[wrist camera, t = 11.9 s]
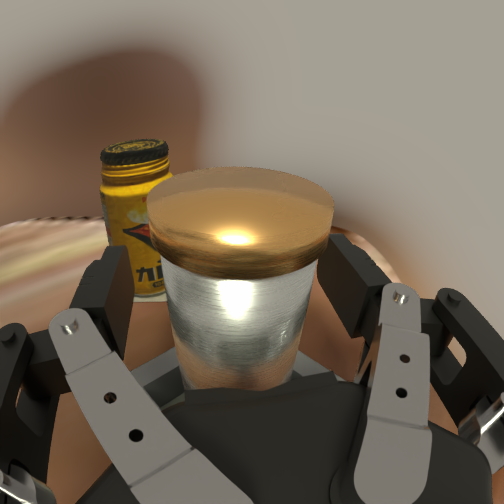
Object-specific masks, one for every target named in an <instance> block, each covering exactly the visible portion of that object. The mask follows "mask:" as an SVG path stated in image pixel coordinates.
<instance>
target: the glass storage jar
mask: <svg viewBox="0 0 504 504" xmlns="http://www.w3.org/2000/svg"><path fill="white" fill-rule="evenodd" d="M147 210H148V220H149V228H150V236H151V241H152V244H153V246H154V248H155V249H156V251H157V252H158V253H159V254H160V255H161V263H162V270H163V277H164V284H165V291H166V297H167V303H168V309H169V315H170V321H171V327H172V332H173V337H174V343H175V348H176V353H177V358H178V363H179V367H180V372H181V377H182V381H183V385H184V390H193V389H208V388H220V387H225V388H234V389H244V390H256V391H265V390H268V389H271V388H273V387H276V386H279V385H281V384H284V383H286V382H289V381H290V379H291V375H292V371H293V367H294V363H295V359H296V355H297V351H298V347H299V343H300V338H301V334H302V330H303V325H304V321H305V316H306V312H307V307H308V302H309V297H310V293H311V288H312V283H313V278H314V273H315V267H316V262H317V259H318V258H319V257H320V256H321V255H322V254H323V253H324V251H325V249H326V247H327V244H328V239H329V233H330V228H331V223H332V217H333V211H334V201H333V199H332V197H331V196H330V194H329V193H328V192H327V191H326V190H324V189H323V188H322V187H320V186H319V185H317V184H315V183H313V182H311V181H309V180H307V179H304V178H302V177H299V176H296V175H292V174H289V173H285V172H281V171H275V170H270V169H263V168H252V167H215V168H206V169H199V170H194V171H189V172H185V173H182V174H178V175H175V176H172V177H170V178H168V179H166V180H164V181H162V182H160V183H159V184H157V185H156V186H154V187H153V188H152V189H151V190H150V192H149V193H148V196H147Z"/></svg>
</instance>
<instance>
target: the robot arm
mask: <svg viewBox="0 0 504 504" xmlns="http://www.w3.org/2000/svg"><path fill="white" fill-rule="evenodd" d="M317 278H318V282H319V284H320V285H321V287H322V289H323V290H324V292H325V294H326V295H327V297H328V299H329V301H330V302H331V304H332V306H333V308H334V309H335V311H336V313H337V314H338V316H339V318H340V320H341V321H342V323H343V325H344V327H345V328H346V330H347V332H348V334H349V336H350V337H351V338H356V337H361V336H363V337H364V339H365V340H364V342H363V345H362V348H361V353H360V357H359V361H358V366H357V370H356V374H355V378H354V382H348V381H337V379H336V376H335V374H334V372H333V371H329V372H324V373H319V374H313V375H308V376H302V377H298V378H296V379H293V380H291V381H289V382H286V383H284V384H281V385H279V386H276V387H273V388H271V389H268V390H265V391H256V390H244V389H234V388H225V387H220V388H208V389H193V390H184V393H185V401H183V402H179V403H176V404H174V405H171V406H169V407H167V408H166V409H164V410H162V411H160V410H159V409H158V408H157V406H156V405H155V404H154V403H153V402H152V400H151V399H150V398H149V397H148V395H147V394H146V393H145V391H144V390H143V389H142V388H141V386H140V385H139V384H138V382H137V381H136V380H135V378H134V377H133V376H132V374H131V373H130V371H129V370H128V369H127V367H126V366H125V364H124V363H123V362H122V361H123V360H124V353H125V346H126V340H127V334H128V328H129V322H130V317H131V311H132V306H133V301H134V295H135V284H134V278H133V273H132V268H131V263H130V258H129V253H128V249H127V246H126V245H119V246H107V247H106V249H105V251H104V253H103V256H102V258H101V260H95V261H93V262H92V263H91V264H90V265H89V266H88V267H87V268H86V270H85V272H84V274H83V277H82V279H81V281H80V283H79V286H78V288H77V290H76V293H75V295H74V297H73V300H72V302H71V304H70V307H69V309H66V310H64V311H62V312H60V313H58V314H57V315H56V316H55V317H54V318H53V319H52V320H51V322H50V324H49V329H47V330H43V331H39V332H35V333H32V334H28V332H27V330H26V328H25V327H24V326H23V325H22V324H20V323H11V324H8V325H6V326H4V327H2V328H1V329H0V504H57V503H56V498H55V496H54V494H53V492H52V490H51V489H50V488H49V487H48V486H47V485H46V481H47V470H48V462H49V454H50V447H51V440H52V434H53V428H54V422H55V417H56V411H57V407H58V402H59V397H60V394H64V393H68V392H73V394H74V396H75V398H76V400H77V402H78V404H79V406H80V408H81V410H82V412H83V414H84V416H85V418H86V419H87V421H88V423H89V425H90V427H91V428H92V430H93V432H94V434H95V435H96V437H97V439H98V440H99V442H100V444H101V445H102V447H103V448H104V450H105V452H106V453H107V455H108V456H109V458H110V459H111V461H112V463H111V465H110V466H109V467H108V468H107V469H106V470H105V471H104V472H103V474H102V475H101V476H100V477H99V478H98V479H97V480H96V481H95V482H94V484H93V485H92V486H91V487H90V488H89V489H88V490H87V491H86V492H85V493H84V495H83V496H82V497H81V498H80V499H79V500H78V501H77V502H76V503H75V504H493V498H492V474H493V473H495V472H497V471H498V470H499V469H501V468H502V467H504V340H503V339H502V338H501V337H500V335H499V334H498V333H497V332H496V331H495V329H494V328H493V327H492V326H491V325H490V324H489V323H488V321H487V320H486V319H485V318H484V317H483V316H482V315H481V313H480V312H479V311H478V310H477V309H476V308H475V307H474V306H473V305H472V304H471V302H469V300H468V299H467V298H466V297H465V296H464V295H463V294H461V293H460V292H458V291H456V290H454V289H450V288H442V289H440V290H439V291H438V293H437V295H436V298H435V300H433V299H422V298H420V297H419V295H418V294H417V292H416V291H415V290H413V289H412V288H411V287H409V286H407V285H405V284H401V283H392V282H391V280H390V279H389V278H388V277H387V276H386V275H385V273H384V272H383V271H382V270H381V269H380V268H379V267H378V266H376V263H375V262H374V261H373V260H371V258H370V256H369V255H368V254H367V253H366V252H365V251H364V250H362V249H361V248H359V247H357V246H356V245H353V244H352V243H351V242H350V241H349V240H348V239H347V238H346V237H345V235H344V234H329V239H328V244H327V247H326V249H325V251H324V253H323V254H322V255H321V256H320V257H319V258H318V264H317ZM453 337H455V338H456V339H457V341H458V342H459V343H460V345H461V346H462V347H463V349H464V350H465V352H466V357H467V358H466V362H465V364H464V366H463V367H462V366H461V365H460V363H459V362H458V360H457V359H456V358H455V356H454V355H453V354H452V352H451V351H450V349H449V348H448V345H449V343H450V342H451V340H452V338H453ZM430 383H431V384H432V386H433V387H434V389H435V391H436V392H437V394H438V396H439V397H440V399H441V401H442V402H443V404H444V406H445V407H446V409H447V411H448V412H449V414H450V416H451V418H452V419H453V421H454V423H455V425H456V426H457V428H458V435H459V436H458V435H456V434H454V433H452V432H450V431H448V430H446V429H444V428H442V427H440V426H438V425H436V424H434V423H432V422H431V421H429V420H428V409H429V389H430ZM20 387H21V393H20V396H19V399H18V403H17V407H16V405H15V404H16V399H17V395H18V392H19V389H20Z"/></svg>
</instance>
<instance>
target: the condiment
mask: <svg viewBox="0 0 504 504" xmlns="http://www.w3.org/2000/svg"><path fill="white" fill-rule="evenodd" d="M168 150H169V149H168V145H167V143H166V142H164V141H163V140H159V139H141V140H131V141H125V142H120V143H118V144H113V145H111V146H108V147H106V148H105V149H104V150H103V151H102V152H101V156H100V159H101V161H102V171H101V175H102V181H103V182H102V184H101V186H100V195H101V203H102V209H103V215H104V221H105V225H106V231H107V237H108V242H109V246H119V245H126V246H127V249H128V253H129V258H130V263H131V268H132V273H133V278H134V284H135V295H134V301H133V302H164V301H167V297H166V291H165V284H164V277H163V270H162V263H161V255H160V254H159V253H158V252H157V251H156V249H155V248H154V246H153V244H152V241H151V236H150V228H149V220H148V210H147V196H148V193H149V192H150V190H151V189H152V188H153V187H154V186H156V185H157V184H159V183H160V182H162V181H164V180H166V179H168V178H170V177H172V176H173V175H172V174H171V173H170V172H169V160H168Z"/></svg>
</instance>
